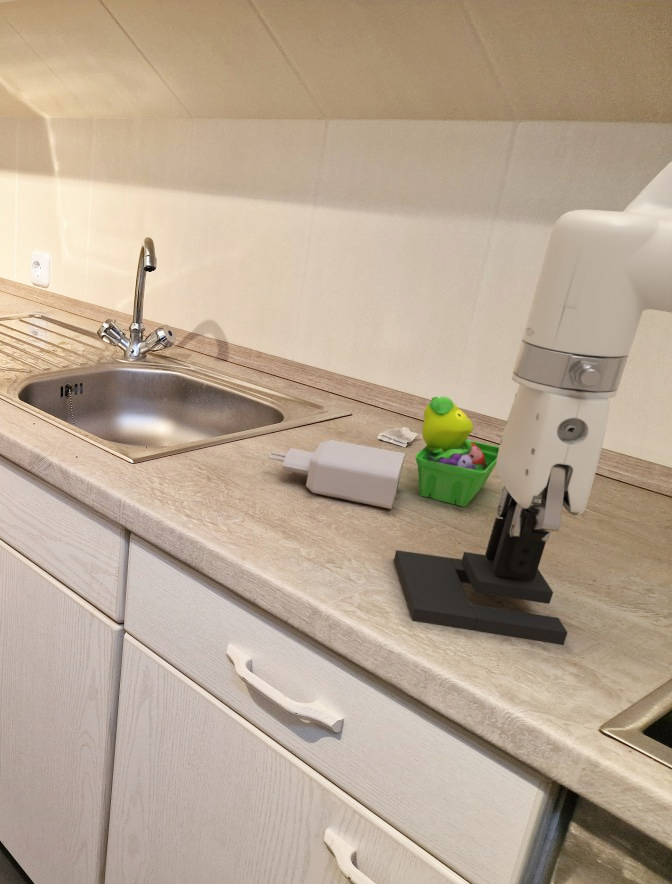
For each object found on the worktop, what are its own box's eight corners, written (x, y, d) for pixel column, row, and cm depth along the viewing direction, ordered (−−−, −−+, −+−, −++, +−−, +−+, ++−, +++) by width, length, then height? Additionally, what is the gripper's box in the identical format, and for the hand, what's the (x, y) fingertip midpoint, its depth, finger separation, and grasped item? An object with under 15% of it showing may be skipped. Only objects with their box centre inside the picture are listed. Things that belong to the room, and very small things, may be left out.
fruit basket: (473, 514, 97) (498, 419, 93) (394, 493, 102) (414, 402, 98) (496, 487, 105) (520, 399, 101) (422, 469, 110) (441, 384, 106)
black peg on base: (530, 573, 79) (551, 504, 76) (549, 604, 74) (573, 531, 71) (460, 562, 80) (479, 494, 78) (474, 592, 75) (495, 520, 72)
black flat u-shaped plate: (524, 579, 82) (528, 568, 82) (563, 644, 71) (568, 632, 71) (393, 560, 85) (396, 549, 84) (412, 620, 74) (415, 608, 74)
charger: (275, 462, 110) (398, 486, 104) (258, 484, 102) (390, 512, 96) (280, 427, 108) (406, 450, 102) (264, 447, 101) (399, 473, 95)
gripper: (660, 400, 61) (584, 621, 68) (584, 353, 76) (529, 539, 83) (546, 388, 63) (484, 604, 70) (493, 344, 78) (446, 527, 84)
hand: (508, 567), depth 76 cm, fingers closed on black peg on base, 2 cm apart
